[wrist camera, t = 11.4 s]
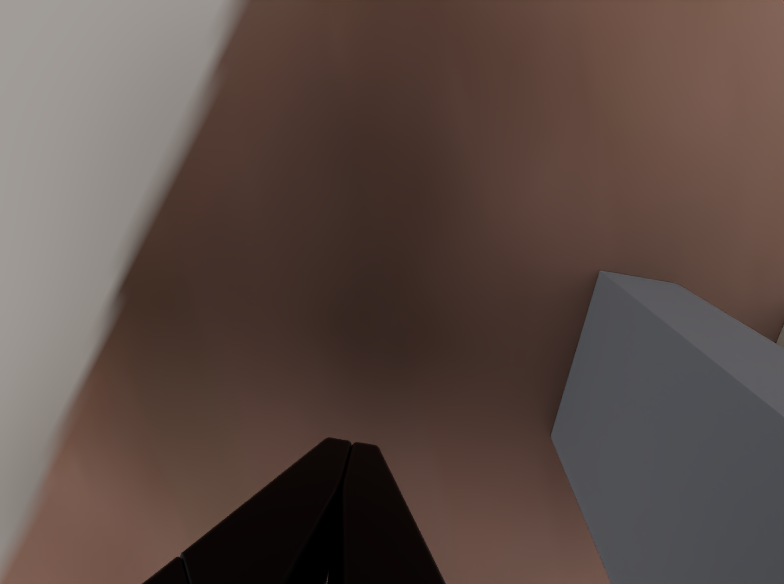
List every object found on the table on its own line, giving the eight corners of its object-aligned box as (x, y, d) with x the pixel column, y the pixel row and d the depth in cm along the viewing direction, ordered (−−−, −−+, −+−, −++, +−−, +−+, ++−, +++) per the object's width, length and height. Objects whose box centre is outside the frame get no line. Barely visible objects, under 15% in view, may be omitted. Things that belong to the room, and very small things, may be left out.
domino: (619, 448, 15) (891, 890, 6) (550, 436, 15) (724, 860, 6) (676, 283, 13) (1143, 567, 5) (599, 270, 13) (923, 527, 5)
